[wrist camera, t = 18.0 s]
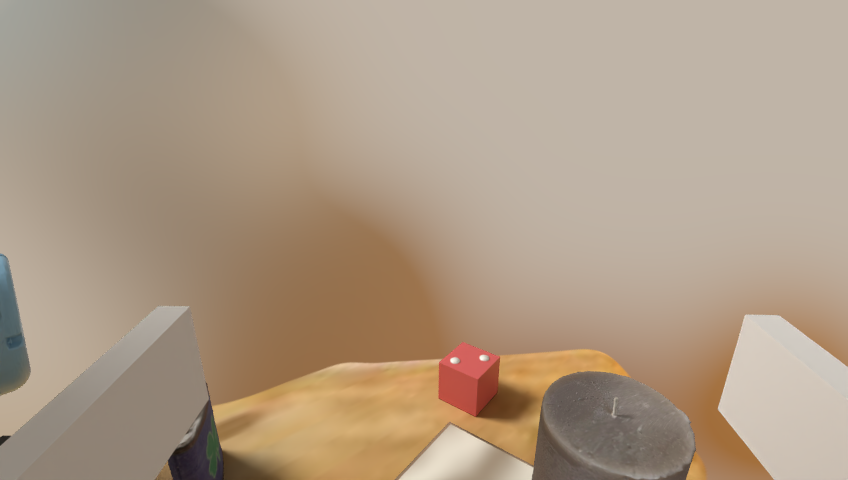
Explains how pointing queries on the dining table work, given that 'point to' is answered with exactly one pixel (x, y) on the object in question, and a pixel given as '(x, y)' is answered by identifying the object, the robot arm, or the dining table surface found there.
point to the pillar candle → (610, 431)
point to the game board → (464, 459)
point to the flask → (199, 450)
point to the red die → (468, 378)
